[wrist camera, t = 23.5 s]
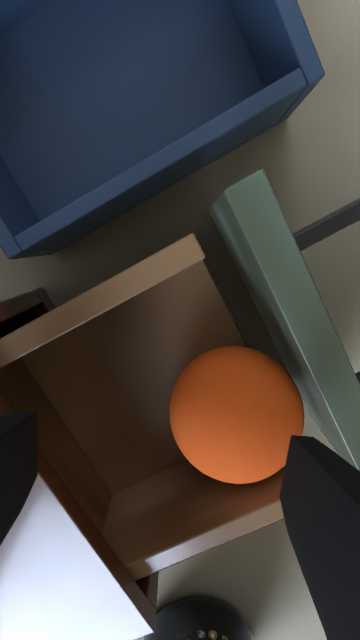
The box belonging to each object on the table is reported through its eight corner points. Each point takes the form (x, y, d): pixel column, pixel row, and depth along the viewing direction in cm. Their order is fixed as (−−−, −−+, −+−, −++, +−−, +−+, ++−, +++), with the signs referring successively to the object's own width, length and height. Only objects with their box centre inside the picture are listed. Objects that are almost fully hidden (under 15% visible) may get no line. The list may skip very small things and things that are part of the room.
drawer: (340, 134, 14) (444, 65, 8) (428, 361, 16) (556, 425, 11) (-4, 326, 16) (-104, 373, 10) (117, 504, 18) (88, 620, 13)
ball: (125, 423, 11) (272, 510, 9) (197, 304, 13) (334, 354, 11) (163, 451, 15) (270, 516, 13) (214, 359, 17) (315, 402, 15)
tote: (50, 255, 16) (8, 260, 12) (-63, 69, 14) (-156, 6, 10) (288, 118, 15) (326, 74, 11) (193, -107, 13) (198, -258, 9)
